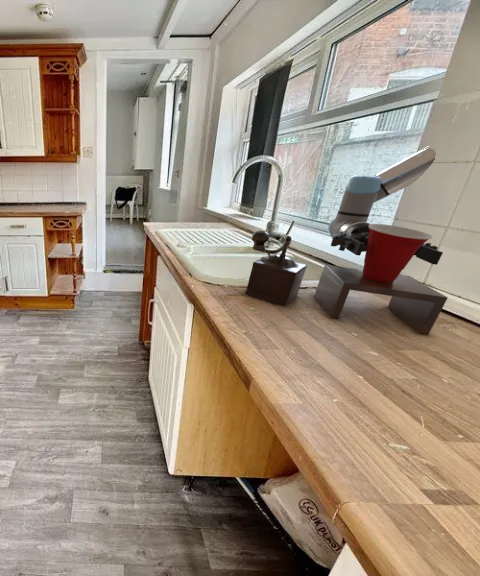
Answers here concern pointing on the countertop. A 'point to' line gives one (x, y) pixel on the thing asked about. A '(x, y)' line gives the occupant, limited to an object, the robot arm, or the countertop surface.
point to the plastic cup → (390, 251)
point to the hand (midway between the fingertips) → (397, 253)
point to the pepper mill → (274, 273)
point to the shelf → (404, 290)
